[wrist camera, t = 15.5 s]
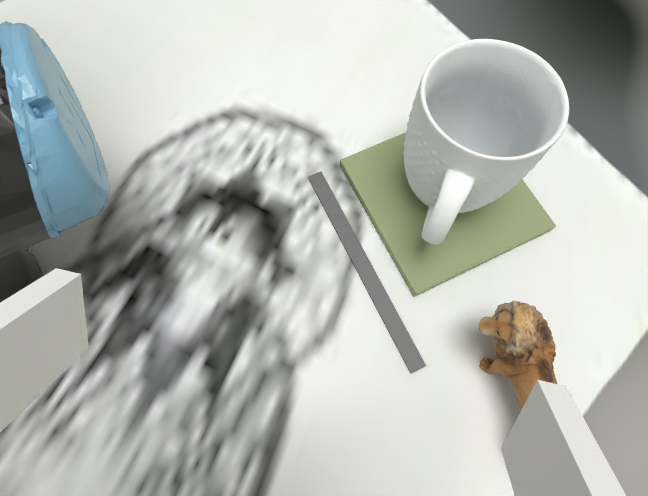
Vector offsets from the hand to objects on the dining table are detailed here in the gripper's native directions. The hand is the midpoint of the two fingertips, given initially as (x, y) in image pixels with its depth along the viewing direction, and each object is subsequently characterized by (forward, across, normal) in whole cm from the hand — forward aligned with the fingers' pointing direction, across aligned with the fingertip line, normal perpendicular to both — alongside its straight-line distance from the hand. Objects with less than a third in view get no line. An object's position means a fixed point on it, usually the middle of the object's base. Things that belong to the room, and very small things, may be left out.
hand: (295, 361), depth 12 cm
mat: (+33, +9, -3) cm, 35 cm away
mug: (+33, +9, -3) cm, 34 cm away
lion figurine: (+20, +17, -16) cm, 31 cm away
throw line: (+27, +2, -10) cm, 29 cm away
